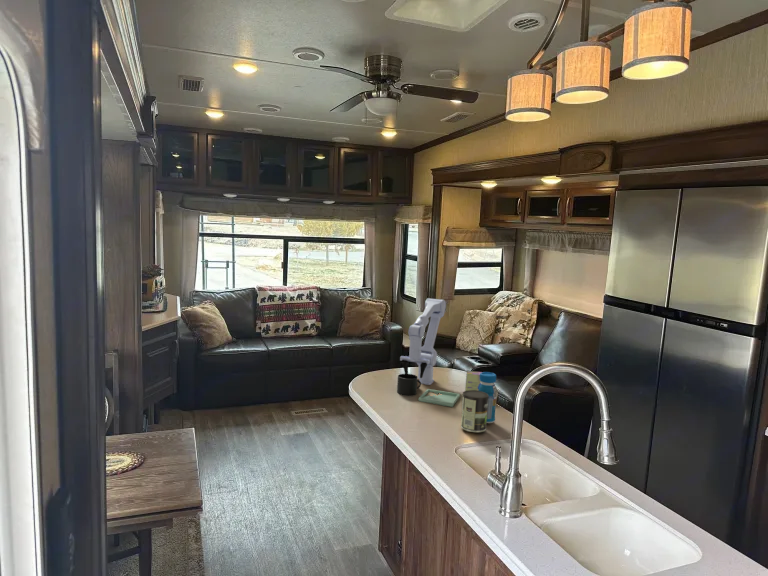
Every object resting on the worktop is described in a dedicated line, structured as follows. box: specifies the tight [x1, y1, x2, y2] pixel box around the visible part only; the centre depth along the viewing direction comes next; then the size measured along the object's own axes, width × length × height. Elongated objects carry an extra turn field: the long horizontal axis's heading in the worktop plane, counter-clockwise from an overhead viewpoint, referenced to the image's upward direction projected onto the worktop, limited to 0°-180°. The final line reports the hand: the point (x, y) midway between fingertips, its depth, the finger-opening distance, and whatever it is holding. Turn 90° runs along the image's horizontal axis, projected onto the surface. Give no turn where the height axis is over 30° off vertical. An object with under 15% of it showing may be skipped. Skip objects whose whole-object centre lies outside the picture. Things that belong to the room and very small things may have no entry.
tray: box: [418, 388, 461, 408], centre depth 242 cm, size 16×16×2 cm
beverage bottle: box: [477, 371, 498, 424], centre depth 216 cm, size 8×8×20 cm
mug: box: [396, 373, 422, 397], centre depth 247 cm, size 9×12×9 cm
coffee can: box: [460, 390, 489, 433], centre depth 207 cm, size 10×10×14 cm
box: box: [464, 370, 482, 391], centre depth 248 cm, size 10×6×12 cm, turn 84°
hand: (413, 376), depth 252 cm, fingers open, 7 cm apart
